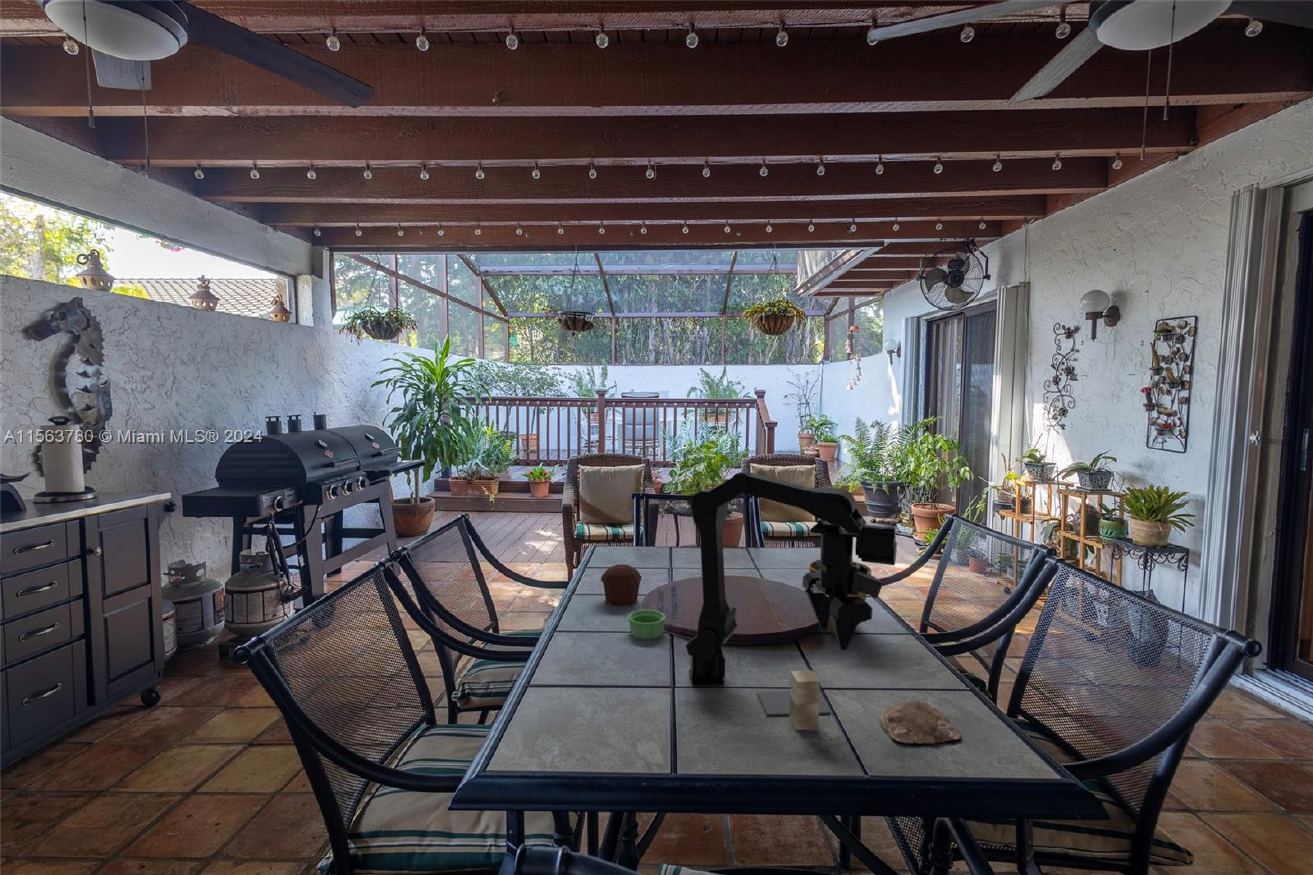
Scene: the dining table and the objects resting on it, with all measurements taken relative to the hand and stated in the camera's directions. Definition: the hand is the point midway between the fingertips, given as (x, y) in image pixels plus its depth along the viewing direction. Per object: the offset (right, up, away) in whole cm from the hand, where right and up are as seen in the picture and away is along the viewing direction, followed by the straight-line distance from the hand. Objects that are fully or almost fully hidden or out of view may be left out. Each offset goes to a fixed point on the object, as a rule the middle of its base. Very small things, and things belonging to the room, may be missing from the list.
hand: (833, 639), depth 115 cm
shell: (+13, -15, -5) cm, 20 cm away
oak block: (-7, -14, -5) cm, 16 cm away
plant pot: (+12, -10, +39) cm, 42 cm away
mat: (-7, -13, +2) cm, 15 cm away
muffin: (-43, -8, +58) cm, 72 cm away
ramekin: (-36, -10, +35) cm, 51 cm away
